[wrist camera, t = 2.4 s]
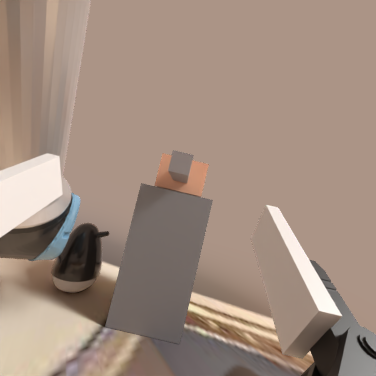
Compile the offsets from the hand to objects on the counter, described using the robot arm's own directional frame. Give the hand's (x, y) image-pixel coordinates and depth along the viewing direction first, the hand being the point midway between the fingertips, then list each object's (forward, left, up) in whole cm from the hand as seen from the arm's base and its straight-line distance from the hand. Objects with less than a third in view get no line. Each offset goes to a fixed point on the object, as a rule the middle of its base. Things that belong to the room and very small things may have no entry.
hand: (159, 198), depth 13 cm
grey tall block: (-13, +28, -26) cm, 40 cm away
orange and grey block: (-11, +23, +2) cm, 26 cm away
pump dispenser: (-32, +24, -26) cm, 48 cm away
